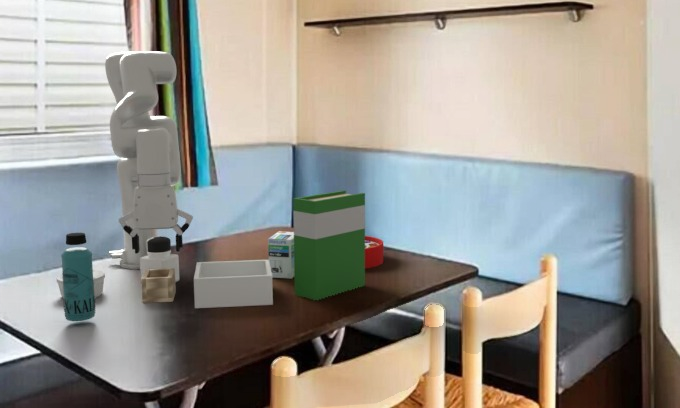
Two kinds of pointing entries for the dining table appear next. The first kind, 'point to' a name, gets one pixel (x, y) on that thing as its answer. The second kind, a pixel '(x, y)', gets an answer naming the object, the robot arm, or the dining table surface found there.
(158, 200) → the robot arm
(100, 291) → the ramekin
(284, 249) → the light bulb box
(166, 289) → the small wooden crate
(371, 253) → the toy clock
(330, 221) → the hardback book
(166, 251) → the medicine bottle
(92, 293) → the beverage bottle
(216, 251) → the dining table surface
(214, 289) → the grey plastic crate
